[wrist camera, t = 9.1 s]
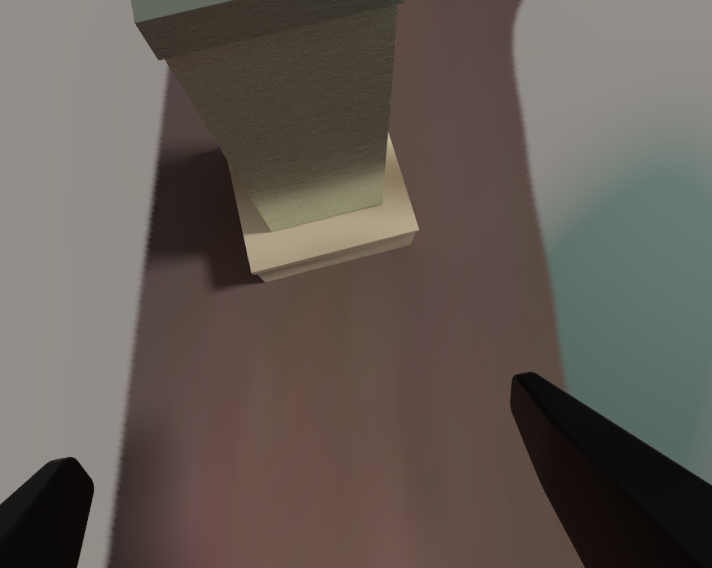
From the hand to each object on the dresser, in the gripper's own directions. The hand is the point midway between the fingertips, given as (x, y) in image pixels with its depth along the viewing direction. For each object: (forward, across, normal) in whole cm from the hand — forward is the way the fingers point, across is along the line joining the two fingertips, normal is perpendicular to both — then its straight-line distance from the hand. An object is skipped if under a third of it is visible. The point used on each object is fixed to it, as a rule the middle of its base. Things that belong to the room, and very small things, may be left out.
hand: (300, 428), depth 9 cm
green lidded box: (+15, -1, -1) cm, 15 cm away
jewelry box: (+17, -1, +1) cm, 17 cm away
